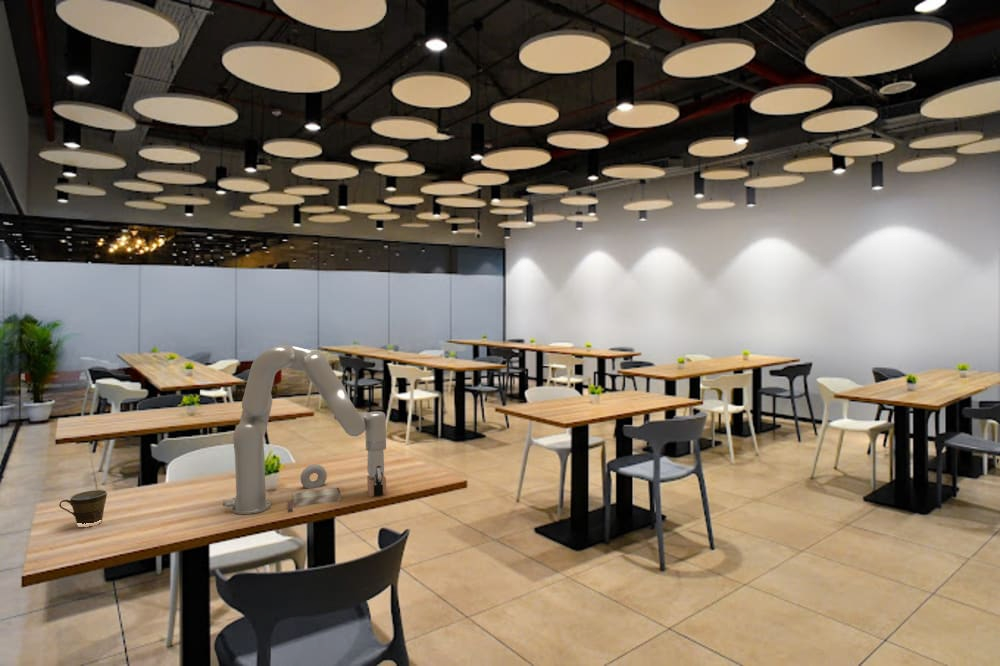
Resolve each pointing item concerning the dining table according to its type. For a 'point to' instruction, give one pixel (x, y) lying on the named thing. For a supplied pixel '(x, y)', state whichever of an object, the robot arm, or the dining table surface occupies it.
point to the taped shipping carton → (371, 484)
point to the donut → (310, 470)
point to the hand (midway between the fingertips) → (376, 492)
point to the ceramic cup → (87, 506)
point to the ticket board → (314, 497)
